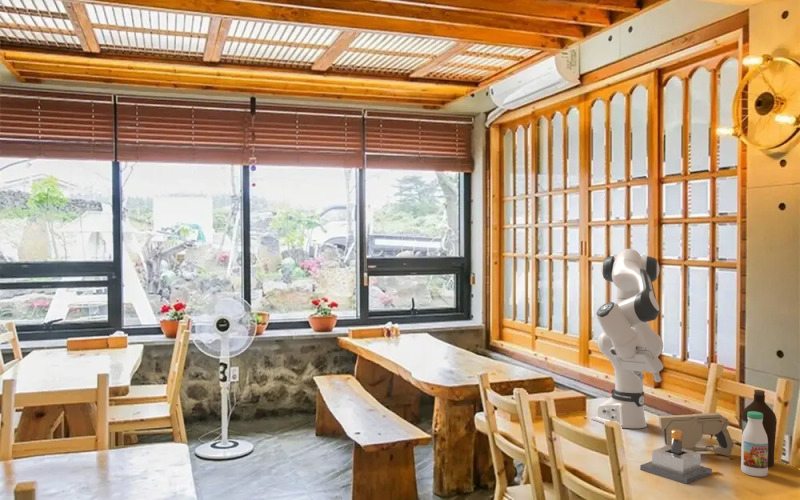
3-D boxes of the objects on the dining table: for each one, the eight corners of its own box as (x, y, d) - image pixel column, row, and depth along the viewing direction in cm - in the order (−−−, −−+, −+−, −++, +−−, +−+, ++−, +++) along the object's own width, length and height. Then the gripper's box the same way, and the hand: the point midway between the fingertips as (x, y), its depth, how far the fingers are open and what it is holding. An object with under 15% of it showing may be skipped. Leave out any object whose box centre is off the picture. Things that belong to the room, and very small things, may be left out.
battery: (668, 466, 213) (669, 430, 213) (673, 464, 215) (674, 428, 215) (678, 469, 211) (678, 432, 211) (683, 467, 213) (683, 431, 213)
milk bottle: (735, 470, 215) (736, 410, 215) (752, 468, 218) (753, 408, 217) (755, 478, 208) (756, 416, 208) (773, 475, 210) (774, 414, 210)
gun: (731, 453, 233) (727, 411, 233) (734, 456, 230) (731, 414, 230) (661, 456, 235) (658, 415, 235) (664, 459, 232) (661, 417, 232)
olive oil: (764, 457, 228) (766, 387, 228) (782, 468, 218) (783, 394, 218) (734, 457, 228) (736, 387, 228) (750, 467, 218) (752, 393, 218)
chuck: (640, 469, 214) (640, 450, 214) (666, 460, 224) (666, 441, 224) (686, 484, 202) (687, 463, 202) (712, 473, 212) (712, 453, 212)
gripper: (654, 342, 212) (676, 377, 212) (619, 340, 232) (639, 372, 232) (640, 353, 210) (663, 388, 211) (606, 350, 230) (626, 382, 231)
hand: (650, 380), depth 222 cm, fingers open, 8 cm apart
